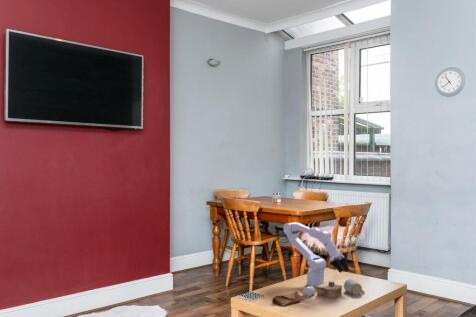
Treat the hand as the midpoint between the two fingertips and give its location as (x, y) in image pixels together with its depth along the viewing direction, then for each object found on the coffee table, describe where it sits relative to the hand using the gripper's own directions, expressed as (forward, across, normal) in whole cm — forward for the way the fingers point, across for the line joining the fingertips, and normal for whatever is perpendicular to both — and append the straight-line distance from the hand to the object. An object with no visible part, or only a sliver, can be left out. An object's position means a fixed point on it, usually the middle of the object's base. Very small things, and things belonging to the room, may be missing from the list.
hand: (344, 271), depth 244 cm
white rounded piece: (+3, -17, +19) cm, 26 cm away
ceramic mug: (+13, +5, +4) cm, 14 cm away
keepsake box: (+8, -9, +12) cm, 17 cm away
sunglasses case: (+4, -32, +22) cm, 39 cm away
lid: (+4, -9, +9) cm, 13 cm away
